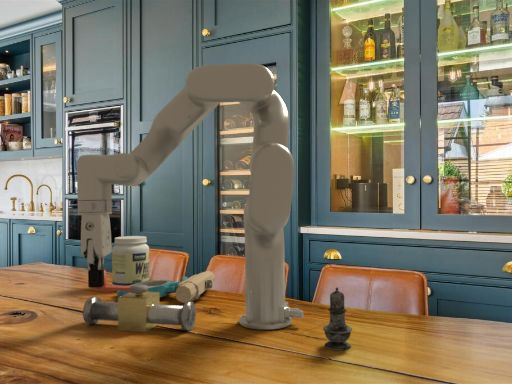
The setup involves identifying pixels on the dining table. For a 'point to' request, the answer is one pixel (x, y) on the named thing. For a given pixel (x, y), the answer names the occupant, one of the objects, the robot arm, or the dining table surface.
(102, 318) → the valve body
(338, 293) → the salt shaker
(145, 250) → the supplement tub
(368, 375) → the dining table surface
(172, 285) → the butterfly valve
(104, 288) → the lever
